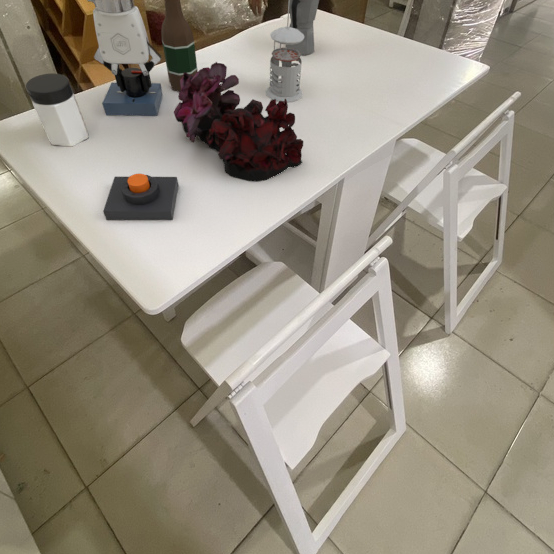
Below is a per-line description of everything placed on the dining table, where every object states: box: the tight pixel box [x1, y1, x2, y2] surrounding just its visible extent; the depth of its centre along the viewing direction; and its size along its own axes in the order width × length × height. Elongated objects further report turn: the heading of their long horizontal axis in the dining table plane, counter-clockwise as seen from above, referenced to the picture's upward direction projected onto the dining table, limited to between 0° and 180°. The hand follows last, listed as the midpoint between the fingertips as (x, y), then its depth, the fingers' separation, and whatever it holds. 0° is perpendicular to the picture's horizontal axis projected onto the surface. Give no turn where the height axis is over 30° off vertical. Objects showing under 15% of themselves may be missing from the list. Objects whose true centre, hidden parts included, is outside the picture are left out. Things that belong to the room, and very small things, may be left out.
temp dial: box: [121, 67, 147, 98], centre depth 94 cm, size 5×5×5 cm
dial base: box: [101, 82, 164, 117], centre depth 97 cm, size 12×10×3 cm
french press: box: [265, 0, 304, 103], centre depth 96 cm, size 10×12×25 cm
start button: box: [128, 173, 150, 193], centre depth 73 cm, size 4×4×2 cm
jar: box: [25, 72, 90, 147], centre depth 84 cm, size 9×8×12 cm
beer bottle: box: [160, 0, 199, 93], centre depth 96 cm, size 8×8×24 cm
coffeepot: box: [287, 0, 320, 57], centre depth 114 cm, size 15×9×18 cm, turn 159°
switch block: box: [102, 174, 179, 221], centre depth 75 cm, size 12×10×4 cm
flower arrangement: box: [173, 61, 304, 182], centre depth 83 cm, size 31×20×15 cm, turn 50°
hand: (135, 88), depth 95 cm, fingers closed on temp dial, 4 cm apart
